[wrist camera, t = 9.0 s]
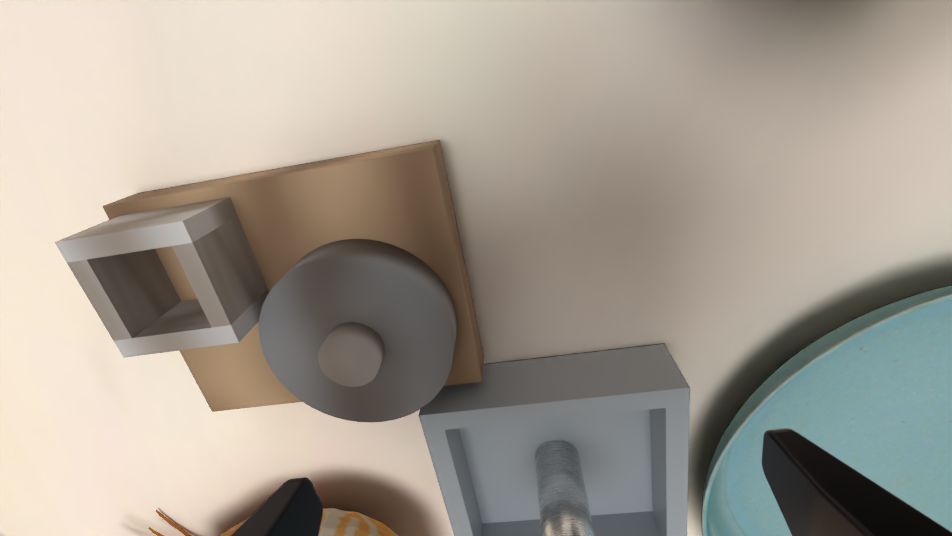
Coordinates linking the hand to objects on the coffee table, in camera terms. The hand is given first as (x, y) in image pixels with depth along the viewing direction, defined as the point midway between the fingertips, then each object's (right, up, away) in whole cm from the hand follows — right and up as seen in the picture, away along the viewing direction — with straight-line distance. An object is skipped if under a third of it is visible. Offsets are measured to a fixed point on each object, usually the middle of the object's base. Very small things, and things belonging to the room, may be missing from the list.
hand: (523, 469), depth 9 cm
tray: (+4, -6, +17) cm, 18 cm away
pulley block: (-8, +3, +13) cm, 16 cm away
